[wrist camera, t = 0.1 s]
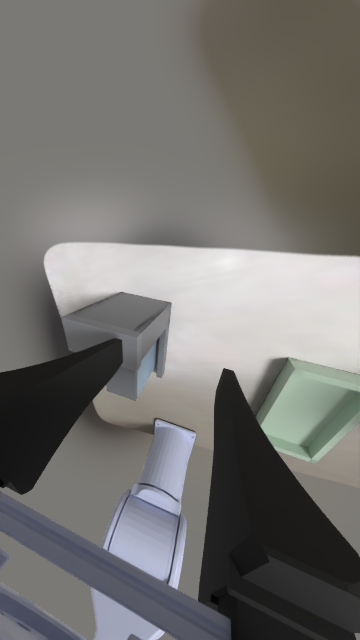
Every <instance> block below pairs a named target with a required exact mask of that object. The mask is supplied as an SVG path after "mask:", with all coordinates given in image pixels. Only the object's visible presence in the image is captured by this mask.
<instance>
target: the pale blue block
mask: <svg viewBox="0 0 360 640" xmlns="http://www.w3.org/2000/svg"><path fill="white" fill-rule="evenodd" d="M156 352H157V341H156V342H155V343H154V345H153V346H152V347H151V349H150V350H149V351H148V353H147V354H146V355H145V357H144V358H143V359H142V361H141V366H140V368H139V369H138V370H137V371H134V370H131V369H127V368H124V367H121V366H120V368H119V369H118V371H117V372H116V373H115V375H114V376H113V377H112V378H111V379H110V381H109V382H108V383H107V384H106V386H107V391H109V392H112V393H114V394H117V395H120V396H123V397H126V398H129V399H132V400H136V399H137V397H138V395H139V394H140V392H141V390H142V388H143V387H144V385H145V383H146V382H147V380H148V378H149V377H150V375H151V373H152V372H153V370H154V368H155V366H156Z"/></svg>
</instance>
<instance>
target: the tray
mask: <svg viewBox="0 0 360 640" xmlns="http://www.w3.org/2000/svg"><path fill="white" fill-rule="evenodd" d="M256 419H257V421H258V423H259V424H260V426H261V428H262V429H263V431H264V433H265V434H266V436H267V437H268V439H269V441H270V442H271V444H272V445H273V447H274V448H275V450H277V451H279V452H282V453H285V454H288V455H291V456H294V457H297V458H300V459H302V460H305V461H308V462H311V463H314V464H315V463H316V462H317V461H318V460H319V459H320V458H322V457H323V456H324V455H325V454H326V453H327V452H328V451H329V450H330V449H331V448H332V447H333V446H334V445H335V444H336V443H337V442H338V441H339V440H341V439H342V438H343V437H344V436H345V435H346V434H347V433H348V432H349V431H350V430H351V429H352V428H353V427H354V426H355V425H356V424H357V423H359V422H360V375H358V374H354V373H350V372H346V371H342V370H338V369H334V368H329V367H325V366H321V365H317V364H313V363H309V362H305V361H301V360H297V359H293V358H289V357H288V359H287V361H286V363H285V365H284V366H283V368H282V370H281V372H280V374H279V375H278V377H277V379H276V381H275V383H274V384H273V386H272V388H271V390H270V392H269V393H268V395H267V397H266V399H265V401H264V403H263V404H262V406H261V408H260V410H259V412H258V413H257V415H256Z"/></svg>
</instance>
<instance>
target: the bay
mask: <svg viewBox="0 0 360 640" xmlns="http://www.w3.org/2000/svg"><path fill="white" fill-rule="evenodd" d="M170 313H171V303H170V302H166V301H161V300H156V299H152V298H147V297H142V296H138V295H133V294H128V293H124V292H121V293H118V294H116V295H113V296H111V297H109V298H106V299H104V300H102V301H99V302H97V303H94V304H92V305H90V306H87V307H85V308H82V309H80V310H78V311H75V312H73V313H71V314H68V315H66V316H63V317H61V319H62V323H63V327H64V332H65V335H66V340H67V344H68V348H69V351H73V352H79V351H82V350H84V349H87V348H89V347H92V346H95V345H97V344H100V343H102V342H105V341H107V340H110V339H113V338H117V339H121V340H122V347H123V363H122V365H121V367H124V368H127V369H131V370H134V371H137V370H138V369H139V368H140V366H141V361H142V359H143V358H144V357H145V355H146V354H147V353H148V351H149V350H150V349H151V347H152V346H153V345H154V343H155V342H156V341H157V339H158V338H159V337H160V339H159V352H158V365H157V377H159V378H162V376H163V374H164V369H165V359H166V350H167V341H168V331H169V322H170Z"/></svg>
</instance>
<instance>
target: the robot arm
mask: <svg viewBox="0 0 360 640" xmlns="http://www.w3.org/2000/svg"><path fill="white" fill-rule="evenodd" d="M122 363H123V347H122V340H121V339H117V338H113V339H110V340H107V341H105V342H102V343H100V344H97V345H95V346H92V347H89V348H87V349H84V350H82V351H79V352H76V353H73V354H71V355H68V356H65V357H62V358H59V359H56V360H52V361H49V362H45V363H42V364H38V365H34V366H29V367H25V368H21V369H17V370H12V371H7V372H1V373H0V487H2V488H4V487H8V488H10V489H11V490H14V491H15V492H17V493H19V494H21V495H22V494H25V493H27V492H29V491H30V490H32V489H33V487H34V485H35V483H36V482H37V480H38V479H39V477H40V475H41V474H42V472H43V471H44V469H45V467H46V466H47V464H48V462H49V461H50V459H51V458H52V456H53V455H54V453H55V452H56V450H57V448H58V447H59V445H60V444H61V442H62V441H63V439H64V438H65V436H66V435H67V434H68V432H69V430H70V429H71V428H72V426H73V425H74V423H75V422H76V421H77V419H78V418H79V416H80V415H81V414H82V412H83V411H84V410H85V408H86V407H87V406H88V405H89V403H90V402H91V401H92V400H93V399H94V398H95V397H96V395H97V394H98V393H99V392H100V391H101V390H102V389H103V387H104V386H105V385H106V384H107V383H108V382H109V381H110V379H111V378H112V377H113V376H114V375H115V373H116V372H117V371H118V369H119V368H120V366H121V365H122ZM195 437H196V433H195V432H193V431H190V430H187V429H184V428H181V427H179V426H176V425H173V424H170V423H168V422H165V421H162V420H159V419H156V421H155V431H154V440H153V442H152V445H151V447H150V450H149V453H148V455H147V458H146V461H145V463H144V466H143V468H142V471H141V474H140V476H139V479H138V482H137V484H136V483H134V485H133V488H132V490H131V489H128V490H127V491H126V492H124V493H123V494H122V495H121V497H120V499H119V500H118V502H117V504H116V506H115V508H114V511H113V513H112V515H111V518H110V520H109V523H108V525H107V528H106V531H105V534H104V537H103V541H102V545H101V547H100V546H98V545H96V544H94V543H92V542H90V541H89V540H87V539H85V538H83V537H82V536H80V535H78V534H76V533H74V532H73V531H71V530H69V529H67V528H65V527H64V526H62V525H60V524H58V523H56V522H55V521H53V520H51V519H49V518H47V517H46V516H44V515H42V514H40V513H38V512H37V511H35V510H33V509H31V508H30V507H28V506H26V505H24V504H22V503H20V502H19V501H17V500H15V499H13V498H12V497H10V496H8V495H6V494H4V493H2V492H1V491H0V531H1V532H3V533H5V534H6V535H8V536H9V537H11V538H13V539H14V540H16V541H17V542H19V543H21V544H22V545H24V546H26V547H27V548H29V549H31V550H32V551H34V552H35V553H37V554H39V555H40V556H42V557H43V558H45V559H47V560H48V561H50V562H52V563H53V564H55V565H56V566H58V567H60V568H61V569H63V570H65V571H66V572H68V573H69V574H71V575H73V576H74V577H76V578H78V579H79V580H81V581H83V582H84V583H86V584H87V585H89V586H91V594H92V600H93V608H94V614H95V621H96V633H95V636H94V639H93V640H157V639H159V638H160V637H161V636H162V635H163V634H164V633H167V634H169V635H170V636H172V637H173V638H175V639H177V640H356V637H355V634H354V633H360V557H359V555H358V553H357V552H356V551H355V550H354V549H353V547H352V546H351V545H350V544H349V543H348V542H347V540H346V539H345V538H344V537H343V536H342V534H341V533H340V532H339V531H338V530H337V529H336V527H335V526H334V525H333V524H332V523H331V521H330V520H329V519H328V518H327V517H326V515H325V514H324V513H323V512H322V511H321V510H320V508H319V507H318V506H317V505H316V503H315V502H314V501H313V500H312V498H311V497H310V496H309V495H308V493H307V492H306V491H305V489H304V488H303V487H302V486H301V484H300V483H299V482H298V480H297V479H296V478H295V476H294V475H293V473H292V472H291V471H290V469H289V468H288V467H287V465H286V464H285V462H284V461H283V460H282V458H281V457H280V456H279V454H278V453H277V451H276V450H275V448H274V447H273V445H272V444H271V442H270V441H269V439H268V437H267V436H266V434H265V433H264V431H263V429H262V428H261V426H260V424H259V423H258V421H257V419H256V417H255V415H254V414H253V412H252V410H251V408H250V406H249V404H248V402H247V400H246V398H245V396H244V394H243V392H242V389H241V387H240V385H239V383H238V380H237V378H236V375H235V373H234V371H232V370H228V369H225V368H223V371H222V374H221V377H220V380H219V383H218V386H217V389H216V396H215V404H214V454H213V467H212V478H211V487H210V497H209V507H208V516H207V525H206V534H205V543H204V551H203V559H202V567H201V575H200V584H199V596H198V601H197V600H195V599H193V598H191V597H190V596H188V595H186V594H184V593H182V592H181V591H179V590H177V588H178V583H179V577H180V572H181V566H182V559H183V552H184V546H185V538H186V527H187V522H186V519H185V516H184V514H183V513H180V509H181V497H182V491H183V486H184V480H185V474H186V469H187V463H188V459H189V457H190V453H191V450H192V446H193V443H194V440H195ZM179 515H180V517H179ZM8 558H9V554H8V553H6V552H4V551H3V550H2V549H0V570H1V569H2V567H3V566H4V564H5V563H6V561H7V560H8ZM0 640H87V639H86V638H85V637H83V636H81V635H80V634H79V633H77V632H76V631H75V630H73V629H72V628H70V627H69V626H67V625H66V624H65V623H63V622H62V621H60V620H58V619H57V618H56V617H54V616H53V615H51V614H50V613H48V612H47V611H45V610H43V609H42V608H40V607H39V606H37V605H36V604H34V603H33V602H31V601H30V600H28V599H26V598H25V597H23V596H22V595H20V594H19V593H17V592H16V591H14V590H12V589H11V588H9V587H8V586H6V585H5V584H3V583H2V582H0Z"/></svg>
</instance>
